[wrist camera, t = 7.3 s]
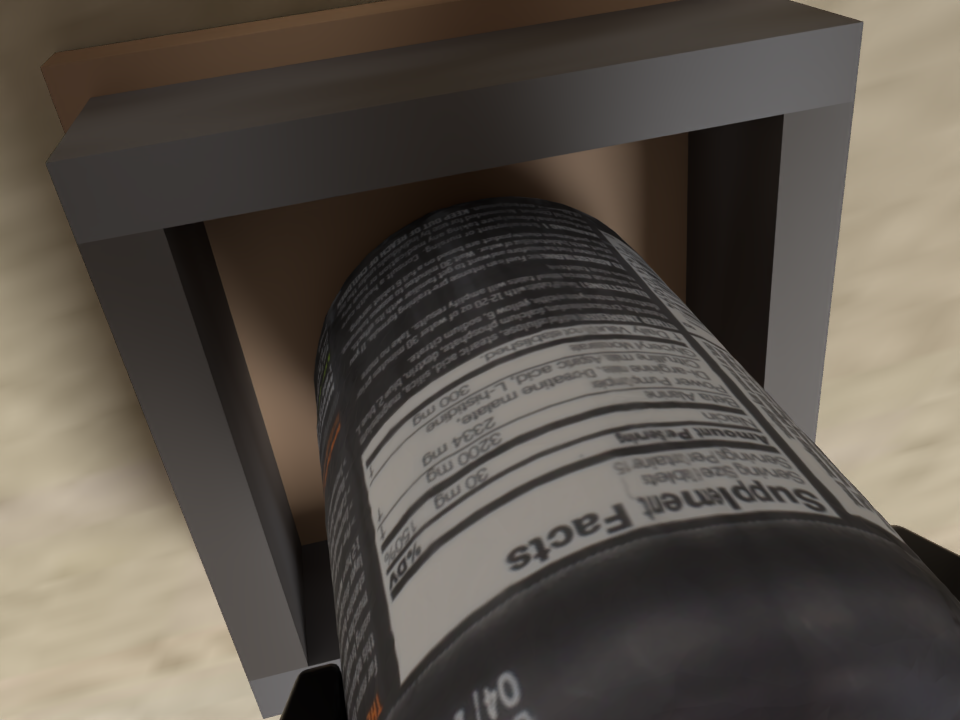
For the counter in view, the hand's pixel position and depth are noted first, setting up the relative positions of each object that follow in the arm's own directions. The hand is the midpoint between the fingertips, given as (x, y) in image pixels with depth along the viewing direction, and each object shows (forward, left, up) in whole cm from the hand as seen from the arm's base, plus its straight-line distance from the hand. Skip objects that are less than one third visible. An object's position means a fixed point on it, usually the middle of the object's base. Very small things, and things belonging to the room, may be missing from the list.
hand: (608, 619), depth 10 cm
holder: (0, 0, -8) cm, 8 cm away
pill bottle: (0, 0, -6) cm, 6 cm away
